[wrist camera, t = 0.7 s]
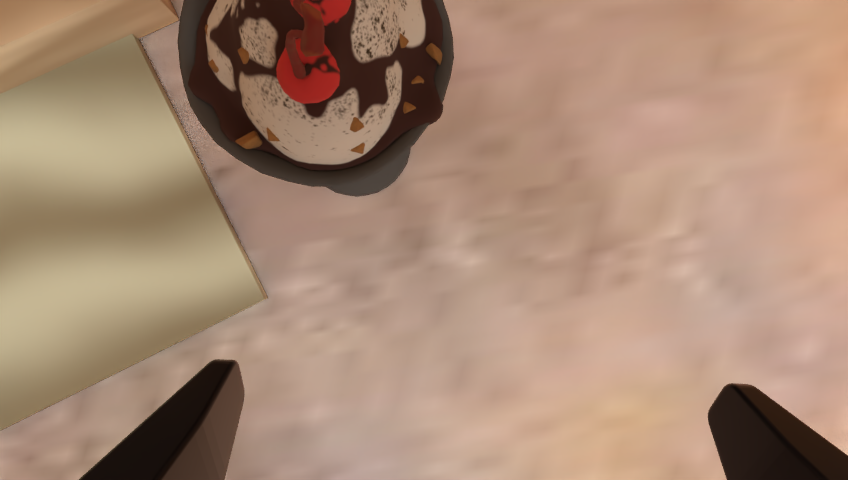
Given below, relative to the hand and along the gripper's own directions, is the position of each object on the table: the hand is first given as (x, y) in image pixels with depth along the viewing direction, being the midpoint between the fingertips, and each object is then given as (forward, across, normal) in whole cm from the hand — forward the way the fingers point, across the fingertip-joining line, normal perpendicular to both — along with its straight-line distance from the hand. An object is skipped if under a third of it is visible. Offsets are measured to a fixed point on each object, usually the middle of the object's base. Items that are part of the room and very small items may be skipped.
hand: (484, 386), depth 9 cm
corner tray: (+12, +17, +5) cm, 21 cm away
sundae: (+15, +4, +2) cm, 15 cm away
